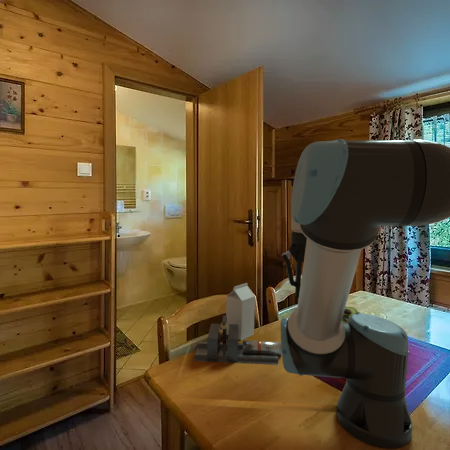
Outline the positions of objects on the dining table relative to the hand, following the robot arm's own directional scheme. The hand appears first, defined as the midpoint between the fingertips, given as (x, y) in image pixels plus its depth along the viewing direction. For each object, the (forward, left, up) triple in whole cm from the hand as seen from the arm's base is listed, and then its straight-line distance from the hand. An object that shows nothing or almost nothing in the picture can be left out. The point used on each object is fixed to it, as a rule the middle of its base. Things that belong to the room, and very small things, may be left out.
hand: (301, 308), depth 96 cm
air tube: (0, +12, -15) cm, 19 cm away
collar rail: (0, +20, -16) cm, 25 cm away
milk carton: (+13, +19, -16) cm, 28 cm away
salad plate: (+31, -25, -17) cm, 43 cm away
